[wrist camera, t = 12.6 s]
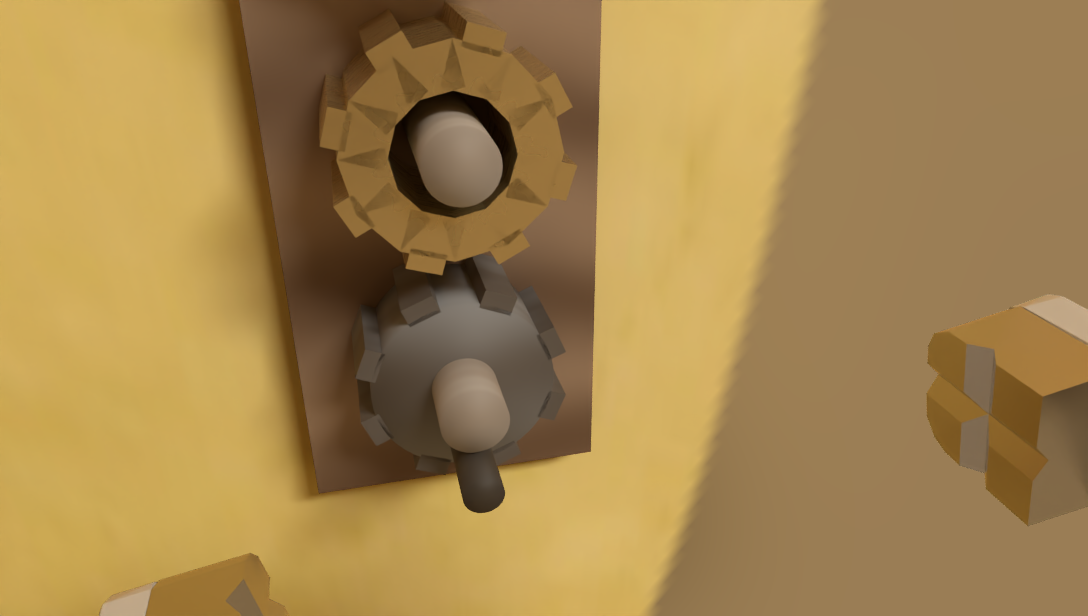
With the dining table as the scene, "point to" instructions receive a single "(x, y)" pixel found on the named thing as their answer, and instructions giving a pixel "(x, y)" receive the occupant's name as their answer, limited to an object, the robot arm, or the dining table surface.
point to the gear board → (365, 258)
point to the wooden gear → (421, 72)
